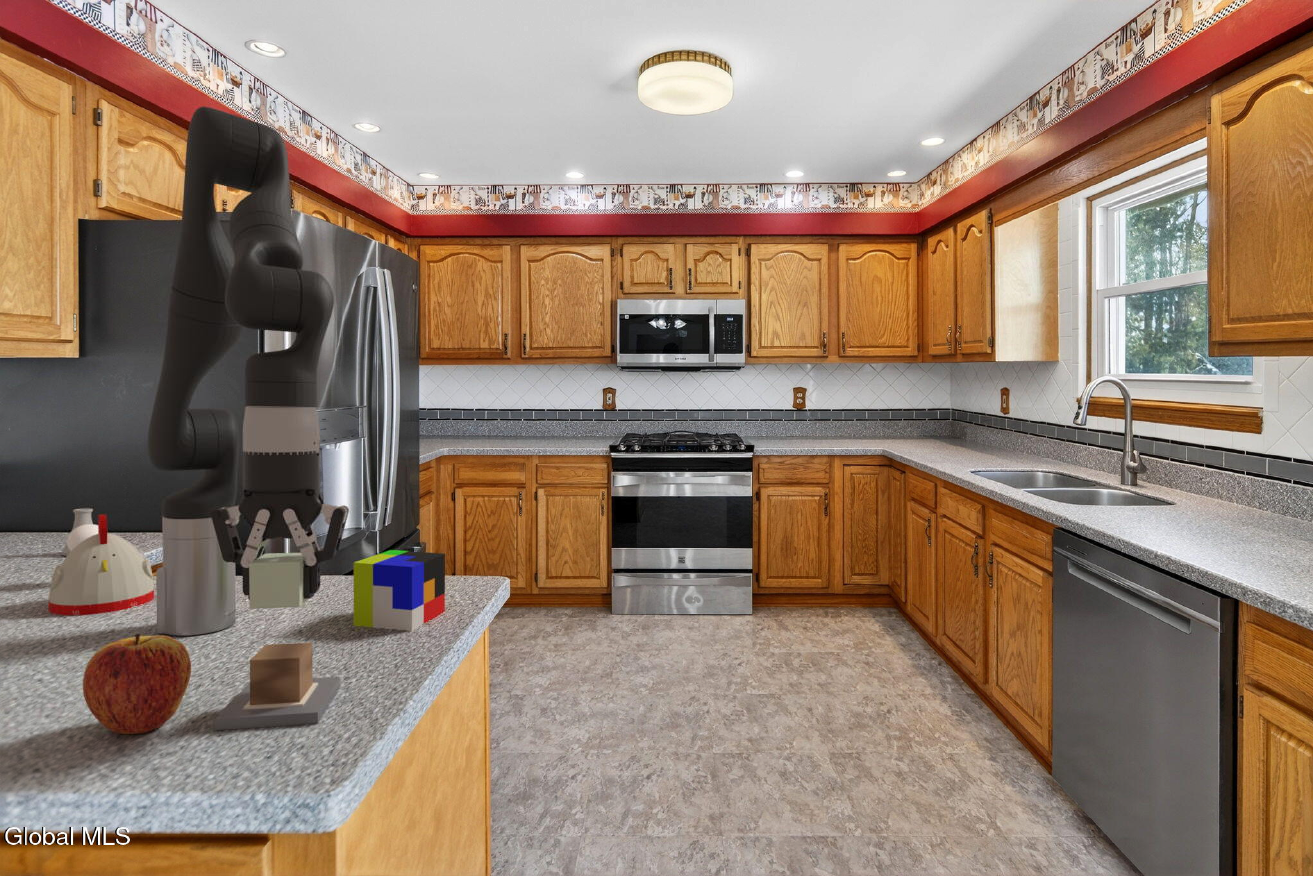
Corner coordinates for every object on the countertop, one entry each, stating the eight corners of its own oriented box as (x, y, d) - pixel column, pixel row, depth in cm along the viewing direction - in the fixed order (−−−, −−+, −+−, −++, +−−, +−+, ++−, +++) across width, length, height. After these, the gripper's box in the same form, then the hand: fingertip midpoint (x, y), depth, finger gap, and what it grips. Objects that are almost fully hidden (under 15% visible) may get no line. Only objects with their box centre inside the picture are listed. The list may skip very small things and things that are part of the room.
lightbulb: (103, 577, 134) (102, 520, 133) (114, 582, 130) (114, 524, 130) (63, 583, 129) (62, 524, 128) (73, 588, 125) (72, 528, 125)
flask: (53, 556, 150) (52, 511, 149) (86, 550, 157) (85, 506, 157) (81, 558, 149) (80, 512, 148) (113, 551, 156) (112, 507, 155)
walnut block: (250, 705, 76) (249, 660, 75) (266, 687, 81) (265, 644, 80) (299, 702, 77) (299, 657, 76) (312, 684, 82) (312, 642, 81)
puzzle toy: (411, 631, 106) (412, 566, 105) (353, 626, 108) (353, 562, 107) (444, 613, 115) (445, 553, 115) (390, 608, 117) (390, 550, 117)
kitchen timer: (48, 621, 107) (47, 524, 107) (49, 601, 118) (47, 513, 117) (158, 605, 116) (157, 517, 116) (150, 588, 127) (149, 507, 126)
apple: (68, 755, 67) (66, 653, 67) (100, 716, 75) (98, 626, 75) (180, 739, 71) (179, 642, 70) (198, 704, 79) (197, 617, 79)
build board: (215, 730, 73) (215, 717, 73) (250, 691, 82) (250, 680, 82) (317, 723, 75) (317, 710, 75) (340, 686, 85) (340, 675, 84)
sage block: (249, 608, 75) (249, 563, 75) (265, 596, 80) (265, 553, 80) (299, 607, 76) (299, 562, 76) (312, 594, 81) (312, 552, 81)
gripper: (195, 449, 72) (196, 610, 73) (342, 449, 75) (342, 604, 76) (224, 445, 80) (225, 591, 80) (357, 446, 83) (357, 587, 83)
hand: (282, 597), depth 78 cm, fingers closed on sage block, 5 cm apart
